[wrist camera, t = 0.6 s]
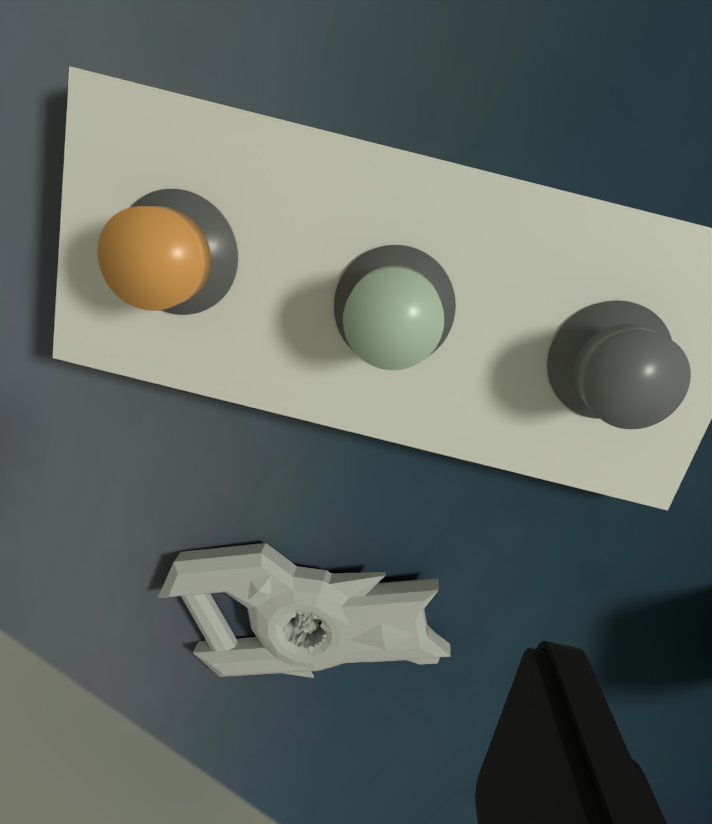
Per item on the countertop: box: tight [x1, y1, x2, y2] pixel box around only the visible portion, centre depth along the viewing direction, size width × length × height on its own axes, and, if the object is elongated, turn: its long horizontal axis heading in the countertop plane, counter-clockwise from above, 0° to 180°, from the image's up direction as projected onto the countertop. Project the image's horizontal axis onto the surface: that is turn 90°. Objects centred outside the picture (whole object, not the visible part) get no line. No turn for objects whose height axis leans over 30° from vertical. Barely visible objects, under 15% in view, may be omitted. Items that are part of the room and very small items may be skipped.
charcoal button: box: [573, 324, 691, 429], centre depth 26 cm, size 4×4×2 cm
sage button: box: [343, 265, 444, 370], centre depth 26 cm, size 4×4×2 cm
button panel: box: [53, 66, 712, 510], centre depth 30 cm, size 14×34×3 cm, turn 77°
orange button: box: [97, 206, 211, 311], centre depth 26 cm, size 4×4×2 cm
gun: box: [158, 543, 450, 678], centre depth 38 cm, size 18×3×10 cm
